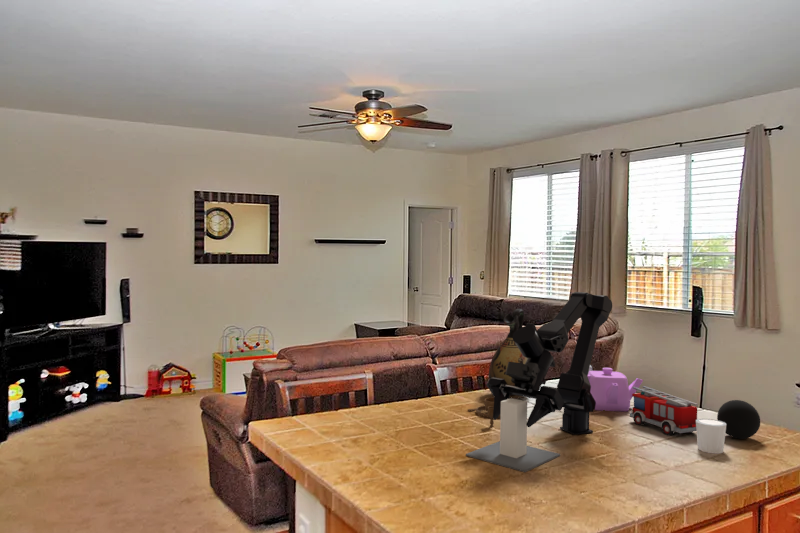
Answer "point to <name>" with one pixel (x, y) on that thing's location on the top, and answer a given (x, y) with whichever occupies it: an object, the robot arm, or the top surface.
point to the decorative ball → (739, 419)
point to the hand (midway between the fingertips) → (510, 422)
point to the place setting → (489, 407)
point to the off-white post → (513, 428)
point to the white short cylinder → (710, 435)
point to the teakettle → (611, 390)
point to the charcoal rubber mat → (520, 463)
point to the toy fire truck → (664, 411)
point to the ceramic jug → (508, 350)
